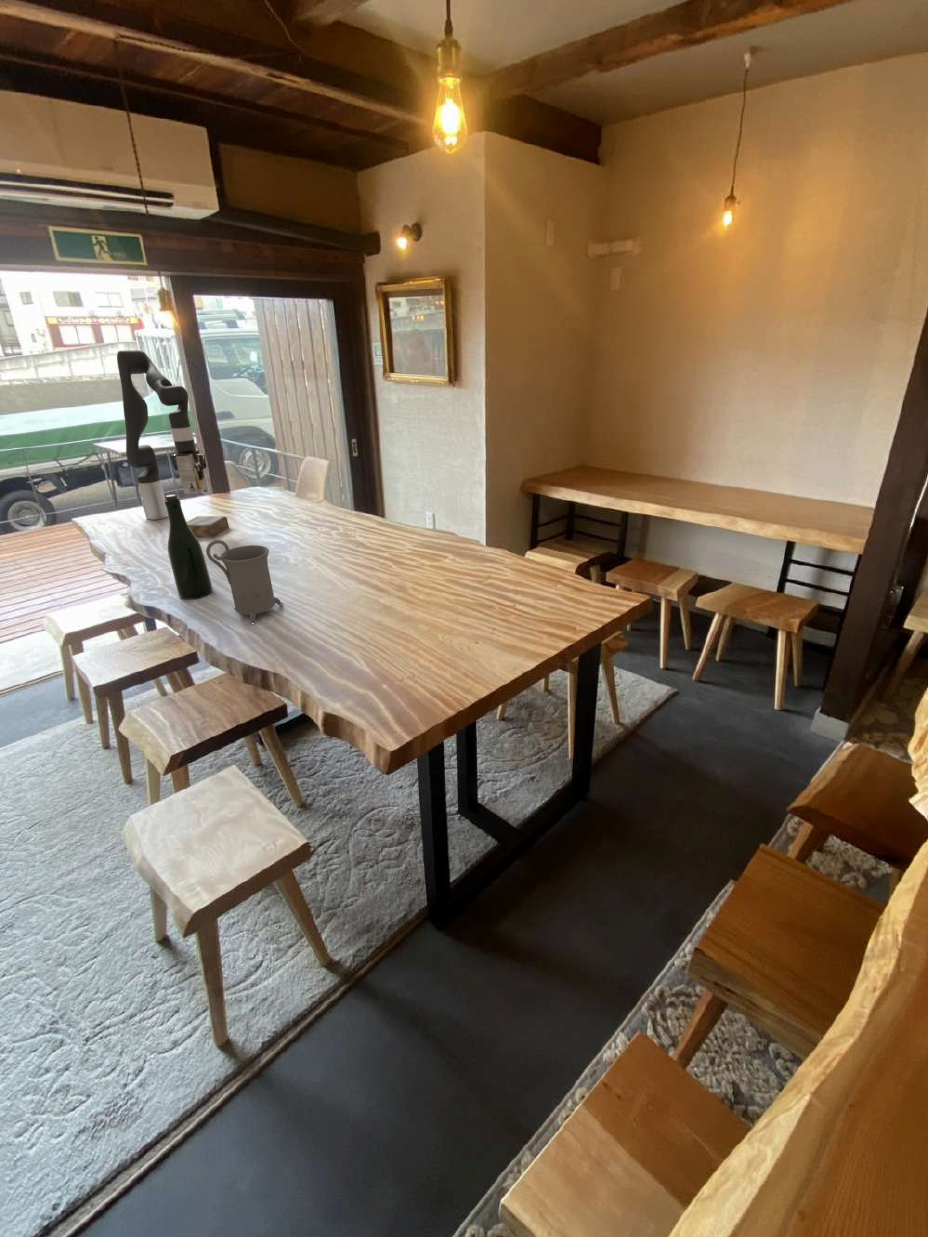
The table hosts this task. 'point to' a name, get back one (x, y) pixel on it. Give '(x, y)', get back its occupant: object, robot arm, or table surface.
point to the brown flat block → (208, 526)
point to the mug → (247, 577)
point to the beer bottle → (185, 554)
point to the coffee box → (190, 473)
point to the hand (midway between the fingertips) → (193, 479)
